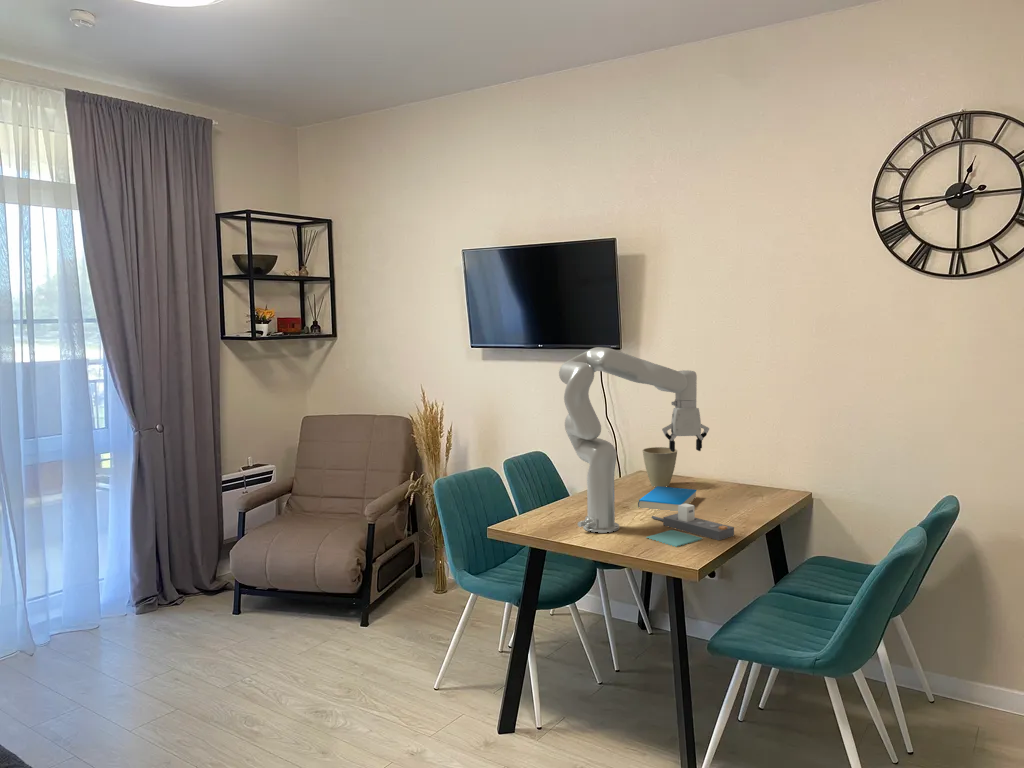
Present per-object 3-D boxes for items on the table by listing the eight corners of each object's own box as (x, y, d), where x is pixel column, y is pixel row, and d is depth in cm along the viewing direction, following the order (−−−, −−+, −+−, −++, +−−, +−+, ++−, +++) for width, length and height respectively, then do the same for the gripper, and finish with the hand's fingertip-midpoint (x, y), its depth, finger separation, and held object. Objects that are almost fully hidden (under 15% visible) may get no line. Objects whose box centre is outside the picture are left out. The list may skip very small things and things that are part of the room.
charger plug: (687, 530, 261) (687, 507, 261) (678, 527, 265) (678, 505, 264) (695, 527, 264) (695, 505, 263) (685, 525, 267) (685, 503, 267)
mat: (676, 547, 242) (676, 545, 242) (646, 538, 253) (646, 536, 253) (702, 539, 250) (702, 537, 250) (671, 531, 261) (671, 529, 261)
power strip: (734, 535, 253) (734, 525, 253) (719, 540, 249) (719, 529, 248) (659, 516, 280) (659, 507, 279) (644, 520, 275) (644, 510, 274)
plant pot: (640, 482, 336) (639, 447, 335) (673, 482, 336) (673, 446, 335) (645, 490, 321) (645, 453, 320) (680, 489, 321) (680, 452, 320)
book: (696, 489, 306) (681, 502, 284) (696, 499, 307) (681, 514, 284) (655, 485, 314) (637, 498, 292) (655, 496, 314) (637, 509, 292)
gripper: (665, 406, 269) (665, 453, 271) (712, 405, 271) (712, 452, 272) (659, 403, 277) (659, 449, 278) (705, 402, 278) (705, 448, 280)
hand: (685, 450), depth 275 cm, fingers open, 9 cm apart
